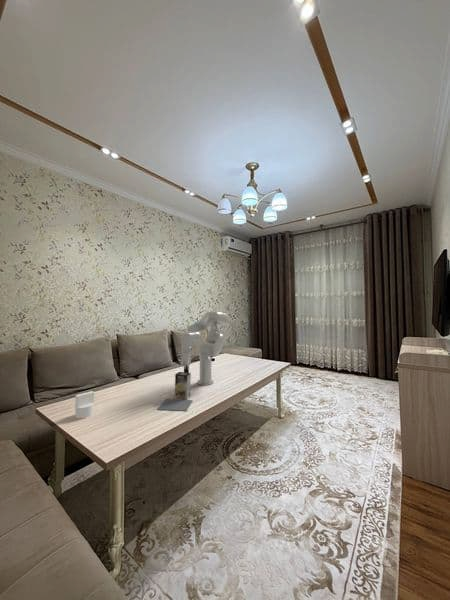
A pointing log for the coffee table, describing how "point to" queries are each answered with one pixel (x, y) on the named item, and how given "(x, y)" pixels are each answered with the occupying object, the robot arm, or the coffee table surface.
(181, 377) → the coffee box
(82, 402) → the translucent cup
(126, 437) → the coffee table surface
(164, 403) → the mat
